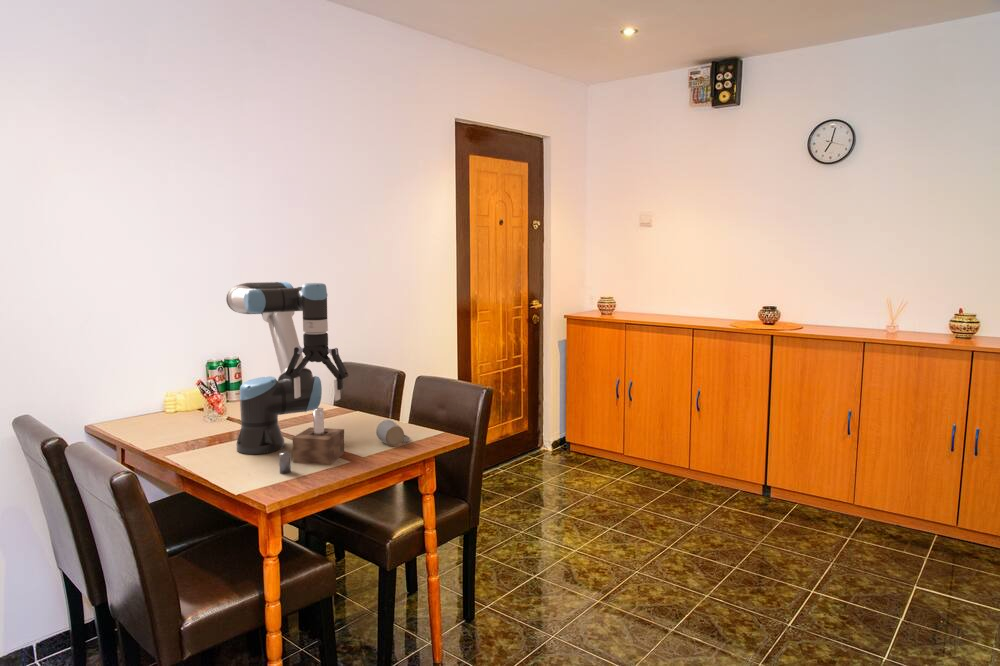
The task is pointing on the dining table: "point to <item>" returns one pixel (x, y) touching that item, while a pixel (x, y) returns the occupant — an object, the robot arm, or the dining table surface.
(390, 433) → the ceramic mug
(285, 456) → the short pin
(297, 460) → the hole block
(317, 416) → the tall pin
